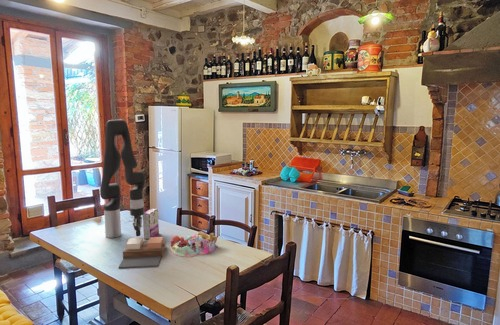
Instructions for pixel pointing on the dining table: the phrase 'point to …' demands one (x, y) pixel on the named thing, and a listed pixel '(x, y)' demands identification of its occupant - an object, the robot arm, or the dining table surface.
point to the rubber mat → (140, 262)
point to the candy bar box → (150, 223)
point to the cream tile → (134, 243)
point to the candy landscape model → (194, 244)
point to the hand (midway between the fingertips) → (138, 235)
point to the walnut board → (144, 251)
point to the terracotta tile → (155, 242)
